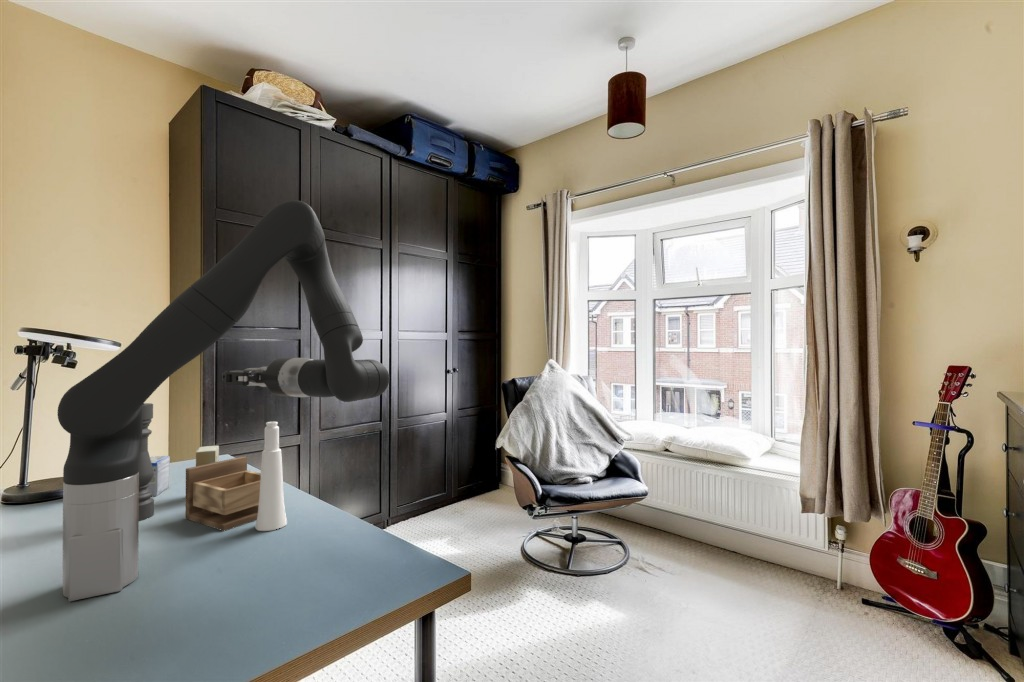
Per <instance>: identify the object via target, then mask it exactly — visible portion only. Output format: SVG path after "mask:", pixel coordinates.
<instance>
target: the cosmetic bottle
mask: <svg viewBox="0 0 1024 682" xmlns="http://www.w3.org/2000/svg"><path fill="white" fill-rule="evenodd" d="M278 424H279V422H278V421H267V422H265V425H266V426H265V427H264V449H263V450H262V451H261V460H260V461H261V464H260V473H261V479H260V496H259V507H258V515H257V520H255V530H256V531H259V532H271V531H277V530H280V529H282V528H284V527H285V526H287V525H288V519H287V515H286V508H285V499H284V498H285V497H284V496H285V495H284V481H283V479H284V478H283V475H284V474H283V458H282V456H283V455H282V449H281V448H280V426H278ZM279 528H280V529H279ZM276 529H277V530H276Z"/></svg>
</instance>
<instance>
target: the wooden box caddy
mask: <svg viewBox="0 0 1024 682" xmlns="http://www.w3.org/2000/svg"><path fill="white" fill-rule="evenodd" d="M260 479H261V472H256V471H252V470H248V456H239V457H234V458H229V459H225V460H219V462H215V463H210V464H205V465H200V466H196V465H195V466H191V467H187V468H185V519H186V520H190V521H193V522H194V523H198V524H201V525H204V526H207V525H208V526H207V527H210V526H211V528H213V527H215V528H214V529H216V528H218V529H217V530H219V529H221V530H220V531H222V530H223V532H225V531H228V530H231V529H234V528H237V527H240V526H243V525H245V524H248V523H251V522H254V521H255V522H256V521H257V515H258V507H259V496H260ZM236 526H237V527H236ZM233 527H234V528H233ZM230 528H231V529H230ZM227 529H228V530H227ZM224 530H225V531H224Z"/></svg>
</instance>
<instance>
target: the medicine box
mask: <svg viewBox="0 0 1024 682" xmlns="http://www.w3.org/2000/svg"><path fill="white" fill-rule="evenodd" d="M170 459H171V458H170V455H154V456H153V455H152V456H150V460H151V463H152V466H153V470H154V476H153V478H152V480H151V481H150V482H149V486H148V489H149V490H150V491H151V492H152V493H153V495H152V496H154V497H158V496H159V495H160V494H161V493H163V492H164V491H165V490H167V489H168V488H169V487H170V464H171V463H170V461H171V460H170ZM157 495H158V496H157Z"/></svg>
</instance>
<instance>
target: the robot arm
mask: <svg viewBox="0 0 1024 682" xmlns="http://www.w3.org/2000/svg"><path fill="white" fill-rule="evenodd" d="M284 258H285V261H286V262H287V263H288V264H289V266H290V268H291V269H292V271H293V272H294V274H295V275H296V277H297V279H298V281H299V282H300V285H301V288H302V290H303V292H304V296H305V301H306V304H307V308H308V311H309V314H310V317H311V321H312V323H313V326H314V329H315V330H316V333H317V336H318V338H319V340H320V343H321V345H322V347H323V357H324V359H313V358H308V357H278V358H276V359H274V360H273V361H271V362H270V364H269V365H268V366H260V367H249V368H248V367H247V368H245V369H244V370H238V369H237V370H236V369H234V370H224V371H223V372H222V373H221V376H222V379H221V380H222V381H223V382H224V385H227V386H231V385H232V386H233V385H234V386H244V387H253V386H254V387H255V386H258V387H263V388H267V389H268V391H270V392H271V393H272V394H273V395H275V396H278V397H279V396H280V397H294V398H295V397H296V398H309V397H311V398H312V397H313V398H332V397H333V398H336V399H338V400H339V401H341V402H344V403H351V402H356V401H362V400H363V401H364V400H367V399H369V400H370V399H373V398H377V397H379V396H381V395H383V393H384V392H385V391H386V390H387V389H388V387H389V383H390V374H389V371H388V369H387V367H386V366H385V365H384V364H383V363H381V362H380V361H378V360H375V359H355V358H354V357H353V352H355V351H357V350H358V349H359V348H361V346H362V344H363V341H364V337H363V335H362V332H361V331H362V330H361V329H360V327H359V324H358V321H357V319H356V317H355V315H354V312H353V310H352V308H351V306H350V304H349V302H348V300H347V299H346V296H345V295H344V293H343V291H342V289H341V287H340V285H339V284H338V282H337V280H336V277H335V275H334V272H333V269H332V265H331V261H330V258H329V254H328V249H327V243H326V237H325V232H324V229H323V228H322V225H321V223H320V220H319V219H318V216H317V214H316V212H315V210H313V208H312V206H310V205H309V204H308V203H306V202H305V201H302V200H295V199H293V200H287V201H283V202H281V203H279V204H276V205H275V206H274V207H272V208H271V209H270V210H269V211H268V212H266V213H265V214H264V216H262V218H261V219H259V221H258V222H257V223H256V224H255V225H254V226H253V227H252V228H251V230H250V231H249V232H248V233H247V234H246V235H245V236H244V237H243V238H242V239H241V240H240V242H239V243H237V245H235V246H234V247H233V248H232V250H230V251H228V253H226V255H225V256H223V257H222V258H221V259H220V260H218V262H217V263H215V264H214V265H213V266H212V267H211V268H210V269H209V270H207V272H205V274H203V275H202V276H201V277H199V278H198V279H197V280H195V282H193V283H192V284H191V285H190V286H188V288H186V289H185V290H184V291H183V292H182V293H181V294H179V295H178V296H177V297H176V298H174V300H172V302H170V303H169V304H168V305H167V306H166V307H165V308H164V309H163V310H162V311H161V312H160V313H158V315H157V316H156V317H155V318H154V319H152V321H151V322H150V323H148V325H147V326H146V327H145V328H144V329H143V330H142V331H141V332H140V334H138V335H137V336H136V338H135V339H133V341H132V342H130V344H128V345H127V346H126V347H125V348H124V349H123V350H122V351H120V352H119V353H118V354H117V355H115V356H114V357H113V358H112V359H110V360H109V361H107V362H106V363H105V364H103V365H102V366H100V367H99V368H98V369H96V370H95V371H93V372H92V373H90V374H89V375H88V376H86V377H85V378H83V379H82V380H80V381H79V382H78V383H75V384H74V385H73V386H71V387H70V388H69V389H68V390H66V392H64V394H63V395H62V397H61V398H60V401H59V403H58V405H57V406H58V407H57V419H58V422H59V425H60V426H61V428H62V429H63V430H64V431H65V432H67V433H68V434H70V437H69V448H68V454H67V457H66V460H65V462H64V465H63V468H62V469H63V470H62V471H63V473H62V476H63V479H62V480H63V481H62V482H63V483H62V484H63V485H62V487H63V488H62V595H63V596H64V597H65V598H68V599H67V600H68V601H67V602H74V601H78V600H79V601H80V600H82V599H87V598H92V597H97V596H103V595H106V594H111V593H117V592H121V591H122V590H123V588H124V587H126V586H128V585H130V584H132V583H133V582H134V581H135V580H136V579H138V577H139V561H140V560H139V558H140V557H139V547H140V546H139V545H140V544H139V537H140V536H139V528H140V525H139V524H140V523H139V522H140V521H139V461H140V455H141V449H142V418H143V405H142V404H143V403H146V401H147V400H148V399H149V398H150V396H151V395H153V394H154V393H155V391H156V390H157V389H158V388H159V387H160V386H161V385H162V384H163V383H164V382H165V381H166V380H167V379H168V378H169V377H171V375H173V374H174V373H176V372H177V371H178V370H180V369H182V368H183V367H184V366H185V365H187V364H188V363H190V362H191V361H192V360H194V359H195V358H197V357H198V356H200V355H202V353H203V352H205V351H207V349H209V348H210V347H211V346H213V345H215V343H216V342H217V341H218V340H220V339H221V338H222V337H223V336H224V335H225V334H227V332H229V331H230V330H231V329H232V328H234V326H235V325H236V324H237V323H238V322H239V321H240V320H241V319H242V318H243V316H244V315H245V314H246V313H247V311H248V309H249V308H250V306H251V304H252V303H253V301H254V299H255V297H256V295H257V293H258V291H259V288H260V286H261V284H262V282H263V281H264V279H265V278H266V276H267V275H268V273H269V272H270V270H272V269H273V267H275V265H276V264H278V263H279V262H281V260H282V259H284ZM253 371H254V373H253V374H252V372H253Z"/></svg>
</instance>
